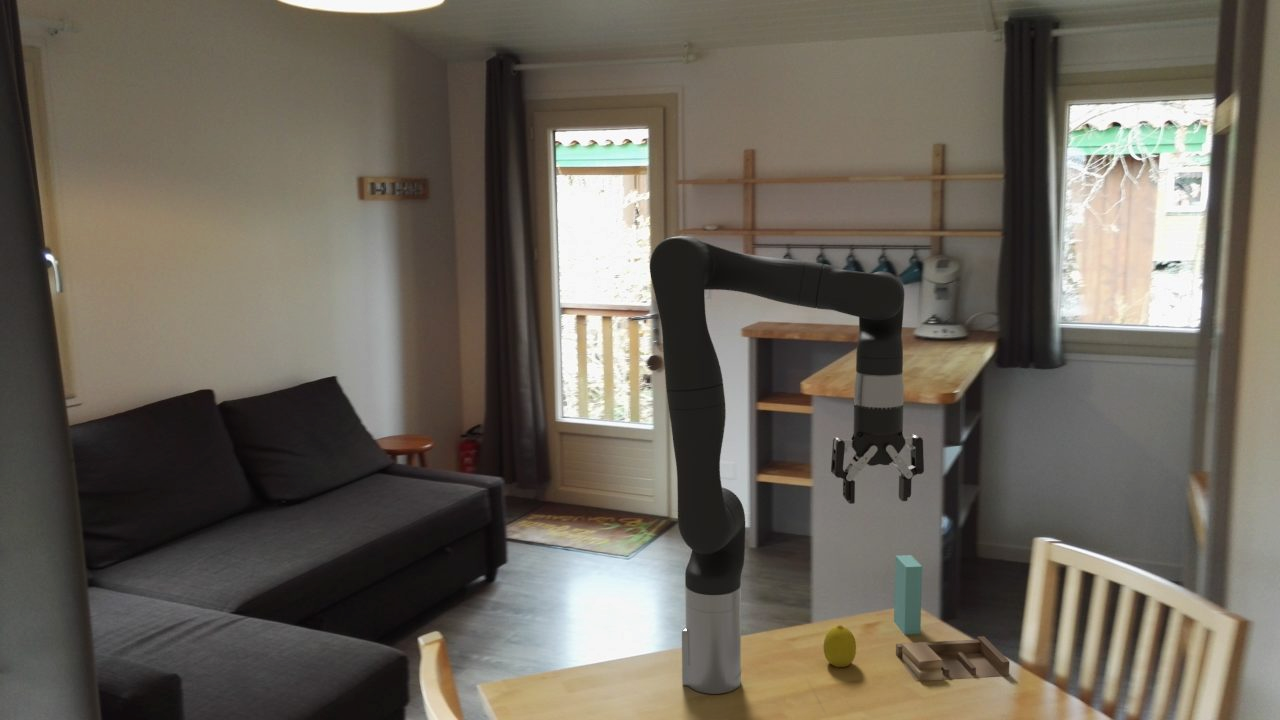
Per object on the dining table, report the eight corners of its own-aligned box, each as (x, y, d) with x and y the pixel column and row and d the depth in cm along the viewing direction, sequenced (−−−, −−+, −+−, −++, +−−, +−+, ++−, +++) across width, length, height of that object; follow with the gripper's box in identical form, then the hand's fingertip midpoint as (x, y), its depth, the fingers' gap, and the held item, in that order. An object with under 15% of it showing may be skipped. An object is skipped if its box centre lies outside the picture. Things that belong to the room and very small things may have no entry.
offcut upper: (919, 670, 168) (919, 661, 168) (902, 652, 175) (902, 643, 174) (941, 668, 168) (942, 659, 168) (923, 650, 175) (923, 641, 175)
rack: (915, 686, 167) (916, 666, 167) (895, 659, 177) (896, 641, 177) (1008, 681, 169) (1009, 661, 168) (983, 654, 179) (984, 636, 178)
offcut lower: (918, 680, 167) (919, 672, 167) (902, 659, 175) (902, 651, 175) (942, 679, 168) (942, 671, 167) (924, 658, 175) (925, 650, 175)
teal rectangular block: (904, 639, 185) (906, 567, 183) (893, 626, 191) (895, 555, 189) (920, 638, 186) (922, 566, 183) (909, 625, 191) (911, 555, 189)
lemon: (861, 667, 174) (862, 624, 173) (845, 679, 170) (846, 634, 169) (833, 658, 178) (833, 616, 177) (817, 670, 174) (817, 626, 173)
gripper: (914, 394, 161) (912, 492, 163) (827, 397, 160) (826, 496, 162) (931, 404, 154) (929, 506, 156) (840, 407, 152) (839, 510, 155)
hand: (876, 501), depth 159 cm, fingers open, 8 cm apart
